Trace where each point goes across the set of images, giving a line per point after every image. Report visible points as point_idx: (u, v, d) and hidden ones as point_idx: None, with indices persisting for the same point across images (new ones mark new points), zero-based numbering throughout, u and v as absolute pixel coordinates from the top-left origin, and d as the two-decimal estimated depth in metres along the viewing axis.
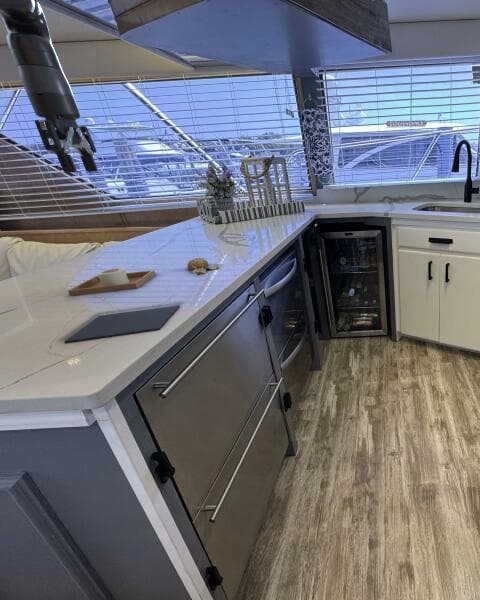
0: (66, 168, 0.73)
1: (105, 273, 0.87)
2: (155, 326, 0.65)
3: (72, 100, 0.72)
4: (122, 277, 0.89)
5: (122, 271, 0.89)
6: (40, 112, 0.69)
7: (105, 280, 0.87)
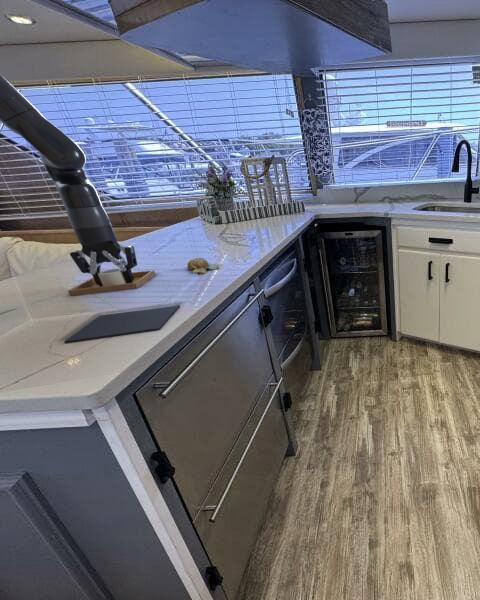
0: (132, 279, 0.91)
1: (106, 273, 0.87)
2: (155, 326, 0.65)
3: None
4: (122, 277, 0.89)
5: None
6: (110, 239, 0.85)
7: (106, 280, 0.87)
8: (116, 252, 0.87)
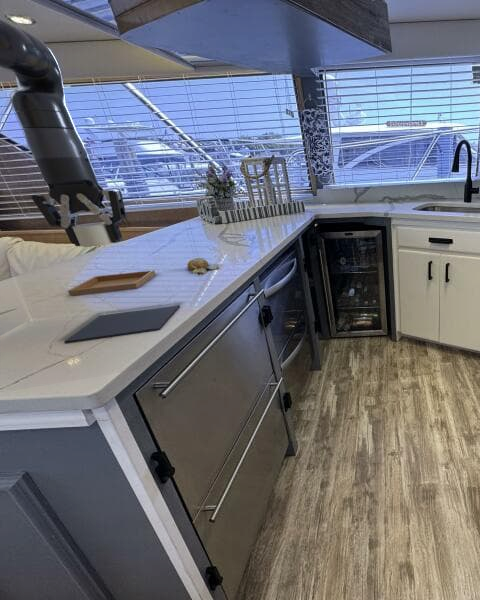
0: (120, 237, 0.68)
1: (83, 226, 0.64)
2: (155, 326, 0.65)
3: None
4: (106, 233, 0.66)
5: None
6: (88, 178, 0.62)
7: (83, 235, 0.64)
8: (97, 197, 0.64)
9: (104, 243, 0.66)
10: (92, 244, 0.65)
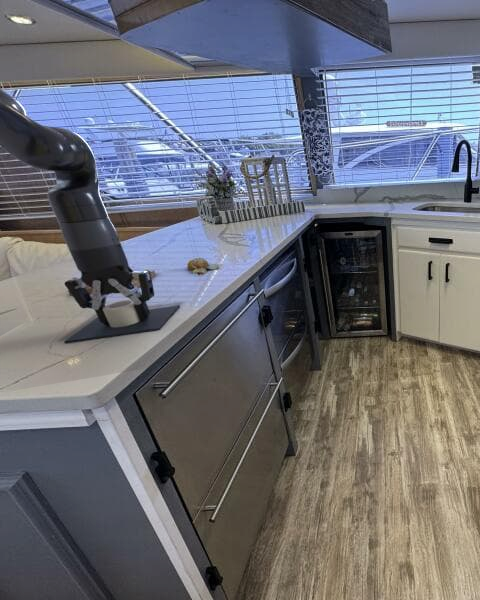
0: (148, 315, 0.69)
1: (113, 308, 0.65)
2: (155, 326, 0.65)
3: None
4: (135, 312, 0.67)
5: (135, 304, 0.67)
6: (120, 263, 0.63)
7: (113, 317, 0.65)
8: (127, 280, 0.64)
9: (133, 322, 0.67)
10: (122, 325, 0.66)
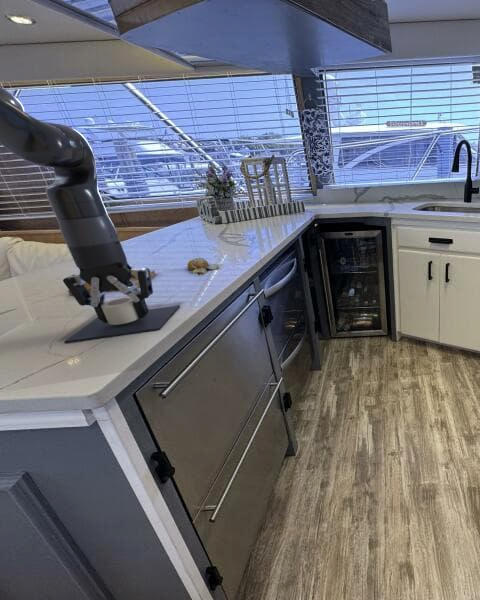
0: (146, 312, 0.69)
1: (112, 305, 0.65)
2: (155, 326, 0.65)
3: None
4: (134, 310, 0.67)
5: None
6: (118, 260, 0.63)
7: (112, 315, 0.65)
8: (126, 277, 0.64)
9: (132, 320, 0.67)
10: (120, 322, 0.65)
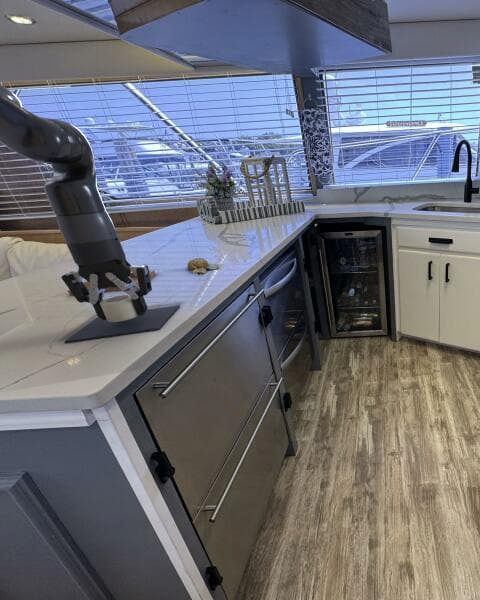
0: (145, 309, 0.68)
1: (110, 302, 0.64)
2: (155, 326, 0.65)
3: None
4: (133, 307, 0.66)
5: None
6: (117, 257, 0.62)
7: (110, 312, 0.64)
8: (125, 274, 0.64)
9: (130, 317, 0.66)
10: (119, 319, 0.65)
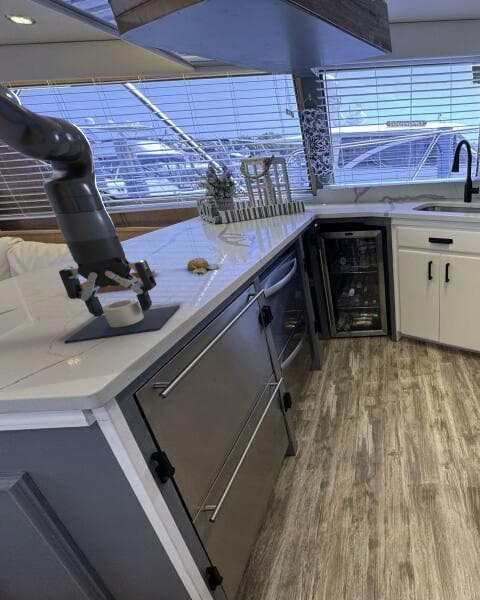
0: (150, 305, 0.68)
1: (113, 308, 0.65)
2: (155, 326, 0.65)
3: None
4: (135, 312, 0.67)
5: (135, 304, 0.67)
6: (117, 256, 0.62)
7: (113, 317, 0.65)
8: (124, 272, 0.64)
9: (133, 322, 0.67)
10: (121, 325, 0.66)
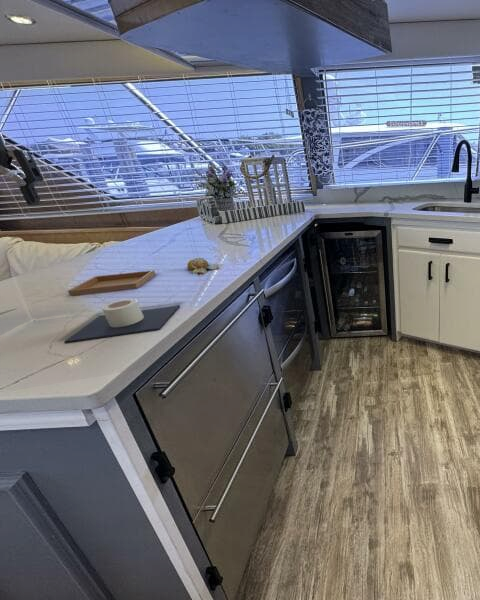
0: (37, 200, 0.67)
1: (113, 308, 0.65)
2: (155, 326, 0.65)
3: None
4: (135, 312, 0.67)
5: (135, 304, 0.67)
6: None
7: (113, 317, 0.65)
8: (3, 159, 0.62)
9: (133, 322, 0.67)
10: (121, 325, 0.66)
